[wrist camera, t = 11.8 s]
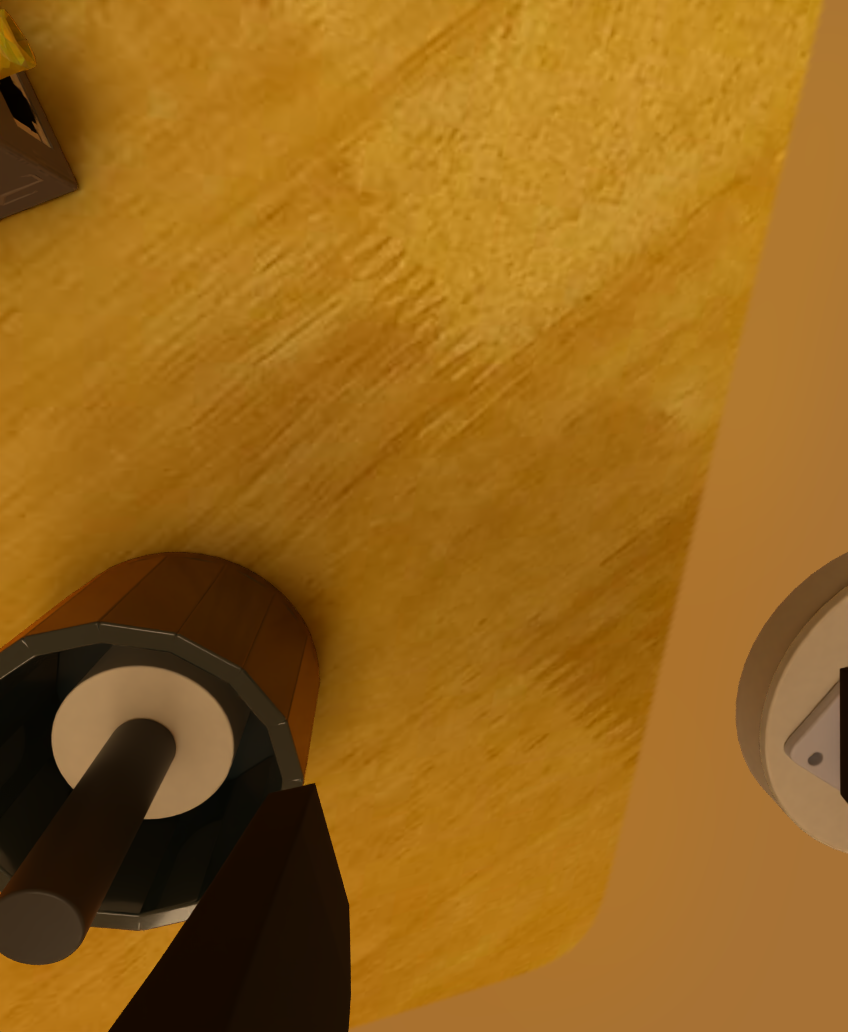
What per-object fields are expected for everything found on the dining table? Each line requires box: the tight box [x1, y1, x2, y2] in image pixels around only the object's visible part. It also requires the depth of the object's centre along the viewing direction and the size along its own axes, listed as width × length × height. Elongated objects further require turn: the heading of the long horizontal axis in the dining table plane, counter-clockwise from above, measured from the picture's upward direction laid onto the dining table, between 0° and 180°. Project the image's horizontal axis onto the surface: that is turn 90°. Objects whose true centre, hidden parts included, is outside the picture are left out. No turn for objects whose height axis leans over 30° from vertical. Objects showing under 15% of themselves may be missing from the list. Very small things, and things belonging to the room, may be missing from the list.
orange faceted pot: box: [0, 552, 320, 931], centre depth 16 cm, size 8×8×5 cm
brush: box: [0, 645, 251, 965], centre depth 14 cm, size 4×4×8 cm
